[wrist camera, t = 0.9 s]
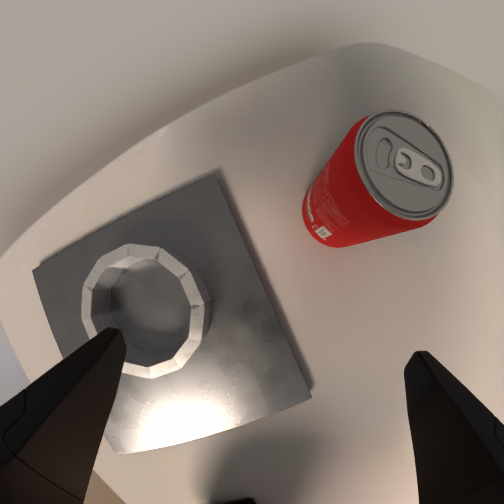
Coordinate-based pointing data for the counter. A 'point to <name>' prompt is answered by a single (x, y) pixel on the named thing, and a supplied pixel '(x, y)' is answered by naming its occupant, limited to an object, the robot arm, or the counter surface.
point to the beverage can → (379, 181)
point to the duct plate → (175, 321)
